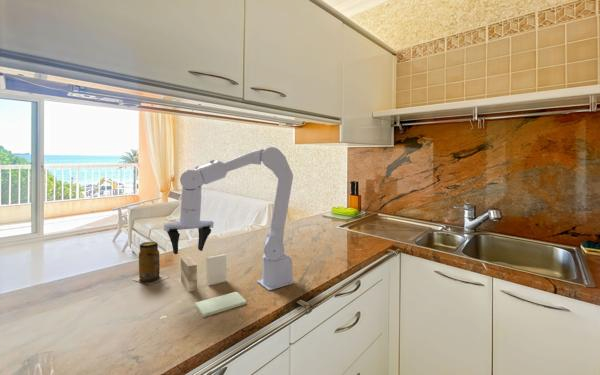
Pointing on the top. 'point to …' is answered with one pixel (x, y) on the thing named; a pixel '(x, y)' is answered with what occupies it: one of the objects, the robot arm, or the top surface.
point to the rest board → (220, 303)
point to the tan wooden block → (189, 273)
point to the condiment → (149, 264)
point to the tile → (216, 269)
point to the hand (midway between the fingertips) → (188, 251)
